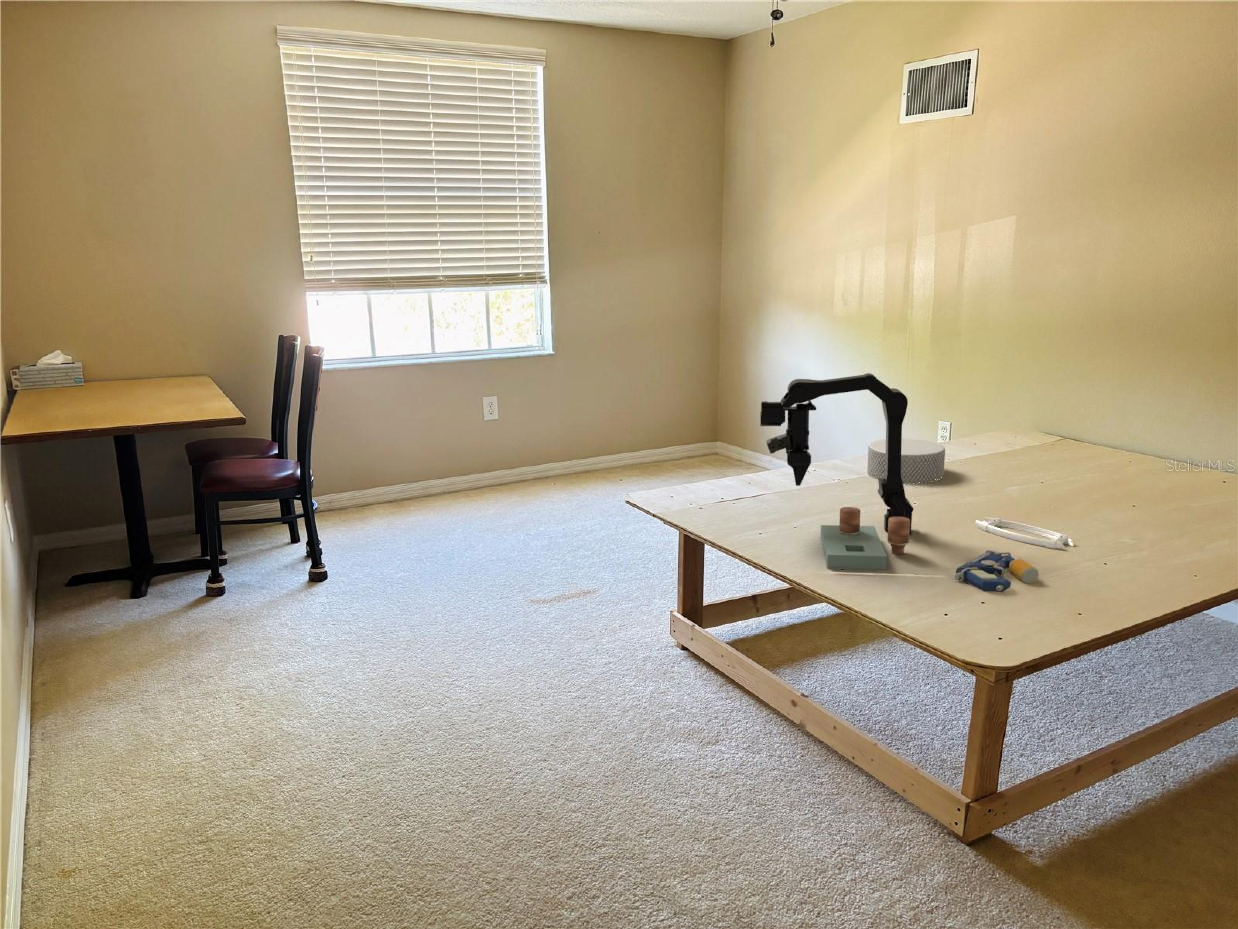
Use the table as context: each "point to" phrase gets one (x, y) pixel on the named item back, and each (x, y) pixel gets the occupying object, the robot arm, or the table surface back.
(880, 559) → the board
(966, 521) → the table surface
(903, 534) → the peg
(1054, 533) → the door handle
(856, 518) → the seated peg
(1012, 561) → the spray gun
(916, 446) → the knob
